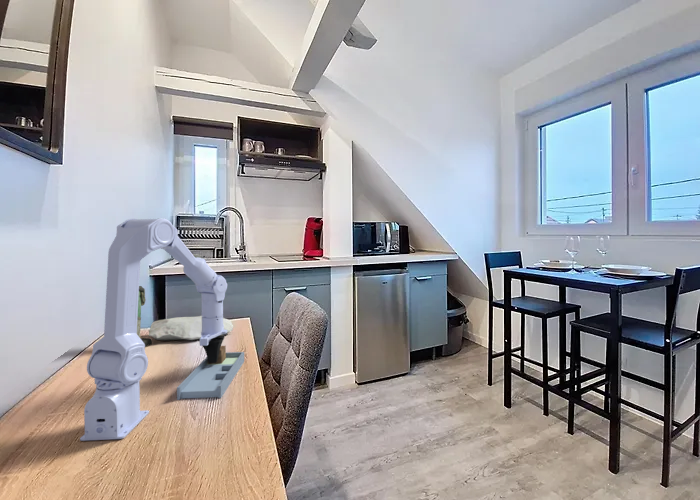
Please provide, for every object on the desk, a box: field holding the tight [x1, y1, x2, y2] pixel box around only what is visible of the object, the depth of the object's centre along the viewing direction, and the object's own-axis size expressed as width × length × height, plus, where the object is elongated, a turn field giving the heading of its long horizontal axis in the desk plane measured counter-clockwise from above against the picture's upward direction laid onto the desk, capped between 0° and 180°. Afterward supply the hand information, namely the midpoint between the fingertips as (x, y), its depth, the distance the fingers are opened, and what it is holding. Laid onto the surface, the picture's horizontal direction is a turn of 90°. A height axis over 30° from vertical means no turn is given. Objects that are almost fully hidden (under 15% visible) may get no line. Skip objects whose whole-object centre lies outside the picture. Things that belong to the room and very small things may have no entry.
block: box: [208, 345, 227, 364], centre depth 96 cm, size 4×4×4 cm
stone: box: [148, 315, 234, 341], centre depth 127 cm, size 21×8×30 cm
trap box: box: [176, 351, 245, 401], centre depth 88 cm, size 23×10×3 cm, turn 5°
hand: (213, 362), depth 93 cm, fingers closed
